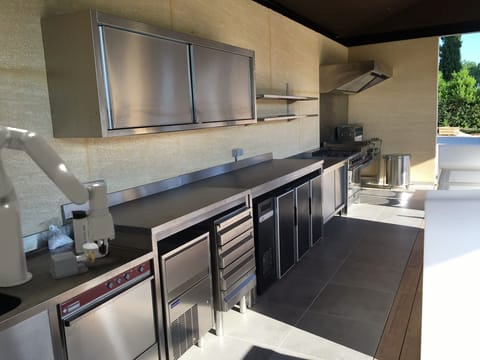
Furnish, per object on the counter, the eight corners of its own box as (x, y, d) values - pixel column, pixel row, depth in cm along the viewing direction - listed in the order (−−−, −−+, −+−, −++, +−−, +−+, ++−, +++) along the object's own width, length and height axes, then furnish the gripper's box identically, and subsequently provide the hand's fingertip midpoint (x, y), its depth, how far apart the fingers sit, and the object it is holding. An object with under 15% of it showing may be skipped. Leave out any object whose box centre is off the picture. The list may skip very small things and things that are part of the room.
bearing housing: (54, 279, 162) (52, 262, 161) (50, 272, 169) (48, 255, 168) (88, 271, 169) (86, 254, 168) (83, 265, 176) (81, 249, 175)
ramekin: (92, 261, 181) (91, 249, 180) (78, 256, 187) (77, 245, 187) (114, 254, 190) (113, 242, 189) (99, 249, 196) (98, 239, 195)
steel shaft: (66, 270, 166) (64, 258, 165) (63, 266, 170) (62, 254, 169) (95, 263, 172) (94, 252, 171) (92, 260, 176) (90, 248, 175)
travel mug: (76, 250, 195) (72, 209, 192) (91, 249, 197) (87, 208, 193) (74, 255, 189) (69, 212, 186) (89, 253, 190) (85, 211, 187)
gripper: (82, 216, 166) (87, 260, 169) (119, 210, 174) (123, 252, 177) (78, 213, 172) (82, 255, 175) (114, 207, 180) (117, 248, 183)
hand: (103, 253), depth 176 cm, fingers closed
